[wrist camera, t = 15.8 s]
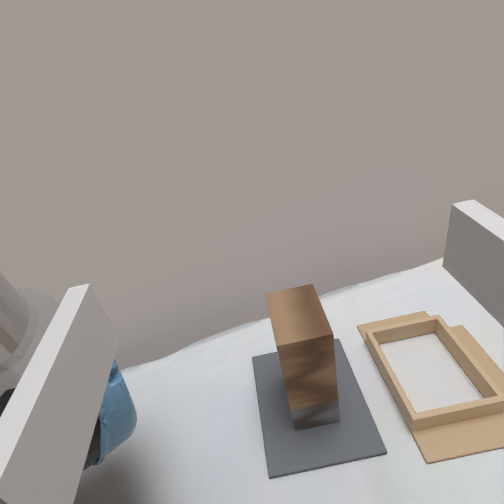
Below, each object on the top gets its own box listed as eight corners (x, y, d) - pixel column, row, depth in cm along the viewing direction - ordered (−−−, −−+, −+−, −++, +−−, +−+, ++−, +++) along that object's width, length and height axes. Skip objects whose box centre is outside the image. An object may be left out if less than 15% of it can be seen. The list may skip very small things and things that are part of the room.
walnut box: (295, 431, 37) (276, 346, 30) (283, 377, 43) (265, 294, 36) (340, 421, 37) (333, 333, 30) (322, 368, 43) (312, 283, 36)
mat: (269, 478, 34) (268, 476, 34) (252, 358, 47) (252, 357, 47) (386, 453, 34) (387, 451, 34) (338, 340, 47) (338, 338, 47)
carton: (426, 463, 33) (429, 450, 32) (357, 326, 48) (357, 314, 47) (556, 436, 33) (564, 422, 32) (445, 307, 48) (448, 294, 47)
